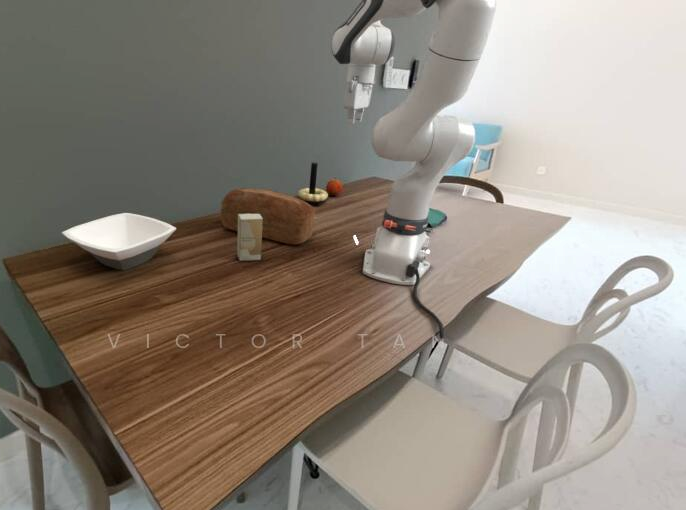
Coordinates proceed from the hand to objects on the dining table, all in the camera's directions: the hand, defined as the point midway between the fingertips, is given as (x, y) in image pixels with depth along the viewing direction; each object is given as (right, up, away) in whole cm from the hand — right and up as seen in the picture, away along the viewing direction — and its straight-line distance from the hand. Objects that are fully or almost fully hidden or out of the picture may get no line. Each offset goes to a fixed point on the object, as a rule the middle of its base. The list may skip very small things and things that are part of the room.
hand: (354, 123), depth 135 cm
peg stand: (-13, -21, +25) cm, 36 cm away
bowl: (-67, -50, -29) cm, 88 cm away
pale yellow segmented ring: (-13, -18, +25) cm, 33 cm away
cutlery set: (+25, -32, +11) cm, 42 cm away
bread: (-30, -39, -7) cm, 50 cm away
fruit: (-3, -16, +35) cm, 39 cm away
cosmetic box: (-34, -49, -24) cm, 64 cm away
